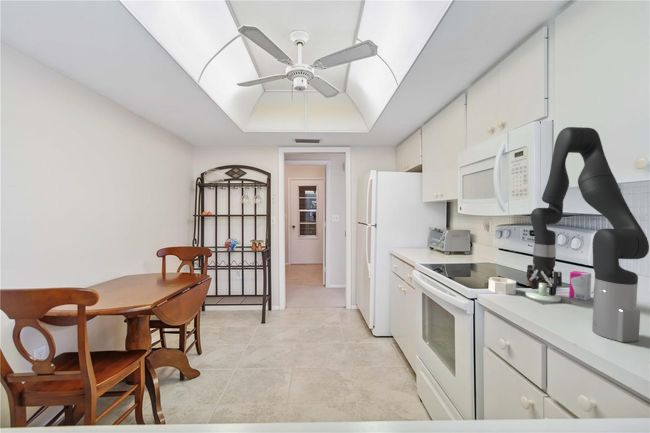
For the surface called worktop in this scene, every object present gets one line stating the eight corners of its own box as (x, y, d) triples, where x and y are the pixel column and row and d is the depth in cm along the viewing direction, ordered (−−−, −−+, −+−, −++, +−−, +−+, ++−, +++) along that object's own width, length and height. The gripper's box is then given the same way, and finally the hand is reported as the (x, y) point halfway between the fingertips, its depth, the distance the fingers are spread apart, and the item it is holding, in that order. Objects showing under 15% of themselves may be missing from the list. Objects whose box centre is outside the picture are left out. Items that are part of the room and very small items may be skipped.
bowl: (521, 295, 125) (522, 283, 125) (500, 296, 124) (500, 284, 123) (503, 287, 136) (503, 276, 135) (483, 288, 134) (483, 277, 134)
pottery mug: (557, 291, 132) (552, 277, 130) (536, 299, 133) (531, 285, 131) (540, 278, 143) (535, 265, 141) (521, 285, 145) (516, 272, 143)
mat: (573, 303, 114) (573, 302, 114) (542, 305, 112) (542, 304, 112) (542, 292, 128) (542, 291, 128) (514, 294, 126) (514, 293, 126)
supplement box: (590, 299, 120) (591, 272, 119) (586, 302, 116) (587, 274, 116) (573, 295, 124) (574, 270, 124) (568, 298, 121) (569, 272, 120)
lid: (568, 301, 115) (569, 287, 115) (542, 303, 113) (543, 288, 113) (542, 292, 127) (542, 279, 127) (518, 293, 125) (518, 280, 125)
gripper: (568, 257, 113) (566, 297, 113) (537, 251, 127) (535, 286, 128) (552, 258, 112) (550, 298, 112) (522, 251, 126) (521, 287, 127)
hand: (542, 292), depth 120 cm, fingers open, 8 cm apart
